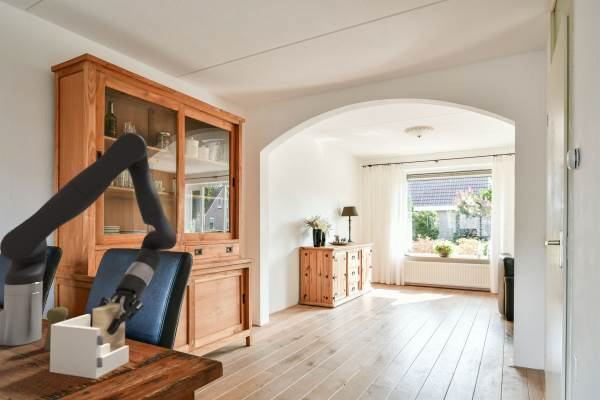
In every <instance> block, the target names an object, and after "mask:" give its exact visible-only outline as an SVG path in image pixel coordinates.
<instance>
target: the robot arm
mask: <svg viewBox="0 0 600 400" xmlns="http://www.w3.org/2000/svg"><path fill="white" fill-rule="evenodd" d="M126 170H128V172H129V176H130V178H131V181H132V186H133V190H134V195H135V199H136V204H137V207H138V210H139V213H140V216H141V218H142V222H143V224H145V225H147V226H152V227H153V228H154V230H151V231H149V232H148V233H146V235H145V236H144V237H143V238H142V239H143V240H142V243H141V246H140V249H139V253H138V254H137V256H136V257H135V259H134V261H133V262H132V263H131V265H130V266H129V267H128V268H127V270H126V271H125V273H124V274H123V276H122V278H121V279H120V281H119V282H118V283H117V285H116V286H115V287H116V288H115V292H114V293H113V294H112V295H111V296H110V297H109V298H106V297H105V296H103V297H101V299H100V302H99V305H98V307H101V306H105V305H108V304H114V303H119V304H121V305H120V307H119V309H118V313H117V315H116V319H114V320H113V322H112V323H111V325H110V327H109V328H108V330H107V332H108V333H109V334H110V335H114V333H115V332H116V331H117V329H118V328H119V326H120V325H121V323H123V322H124V321H125V322H128V323H129V322H130V321H131V320H132V319H133V318H135V316H136V315H137V314H138V313H139V312H140V311H141V310H142V308H143V307H144V304H143V302H142V301H141V300H140V299H141V298H142V295H143V294H144V292H145V290H147V287H148V286H149V284H150V282H151V280H152V278H153V275H154V274H155V271H156V270H157V268H158V267H159V265H160V263H161V255H160V254H159V253H158V252H159V251H166V250H171V249H174V247H175V246H176V244H177V241H178V240H177V239H178V236H177V233H176V231H175V229H174V227H173V225H172V224H171V222H170V220H169V219H168V217H167V216H166V215H165V214H166V213H165V212H164V208H163V205H162V202H161V198H160V196H159V193H158V190H157V187H156V185H155V183H154V179H153V176H152V172H151V169H150V164H149V157H148V144H147V142H146V140H145V139H144V138H143V137H142V136H141V135H140V134H138V133H136V132H135V133H134V132H126V133H123V134H121V135H120V136H118V137H117V138H116V139H115V141H114V142H113V143H112V144H111V145H110V146H109V148H108V149H107V150H105V152H104V153H103V154H102V155H101V156H100V157H98V159H97V160H95V161H94V162H93V163H91V164H90V165H88V166H87V167H86V168H84V169H82V171H80V172H79V173H77V175H75V176H74V177H73V178H71V179H70V180H69V181H68V182H66V184H65V185H63V186H62V187H61V188H60V189H59V190H58V191H57V192H56V193H54V195H53V196H51V197H50V199H48V200H47V201H46V202H45V203H43V205H42V206H41V207H40V208H39V209H38V210H37V211H36V212H35V213H33V214H32V215H31V216H29V217H28V218H27V219H25V220H24V221H22V222H21V223H20V224H18V225H17V226H15V227H14V228H13V229H11V230H9V231H8V232H7V233H6V234H5V235H4V236H3V238H2V240H1V242H0V254H1V255H2V256H3V257H4V258H5V259H7V260H9V261H11V265H10V268H9V270H8V271H7V273H5V276H4V291H3V292H4V295H3V310H1V311H0V346H8V347H9V346H10V347H12V346H13V347H15V346H23V345H28V344H31V343H34V342H38V341H40V340H41V339H42V333H43V330H42V327H43V325H42V323H43V293H44V291H43V290H44V289H43V288H44V286H43V284H44V283H43V282H44V281H43V280H44V279H43V278H44V274H45V270H46V267H47V254H48V241H47V238H48V237H49V236H50V235H51V234H52V233H54V232H55V231H56V230H58V229H59V228H60V227H62V226H64V225H66V224H67V223H69V222H70V221H71V220H73V219H75V218H77V217H78V216H80V215H81V214H83V213H84V212H85V211H86V210H87V209H88V208H90V207H91V206H92V205H93V204H94V203H95V202H96V201H98V199H99V198H100V197H101V196H103V194H104V193H105V191H107V189H108V188H109V186H111V184H112V183H113V182H114V181H115V180H116V178H117V177H118V176H119V175H121V174H122V173H124V171H126Z"/></svg>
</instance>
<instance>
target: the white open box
mask: <svg viewBox="0 0 600 400" xmlns="http://www.w3.org/2000/svg"><path fill="white" fill-rule="evenodd" d="M100 345H102V346H100ZM129 356H130V346H129V345H125V346H123V347H121V348H118V349H116V350H114V351H112V352H110V344H109V343H107V344H104V345H103V335H101V328H94V327H92V326H91V314H90V313H86V314H84V315H79V316H77V317H76V316H75V317H73V318H69V319H66V321H62V322H59V323H56V324H52V325H51V344H50V351H49V372H50V373H55V374H61V375H69V376H73V377H74V376H75V377H81V378H88V379H94V380H95V379H98V378H100V377H102V376H105V375H106V374H108V373H110V372H112V371H114V370H116V369H118V368H120V367H122V366H124V365H125V364H127V363H129V362H130V359H129V358H130V357H129Z"/></svg>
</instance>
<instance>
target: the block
mask: <svg viewBox="0 0 600 400" xmlns="http://www.w3.org/2000/svg"><path fill="white" fill-rule="evenodd" d="M120 305H121V304H119V303H114V304H108V305H105V306H101V307H99V306H98V307H95V308H92V326H91V327H94V328H101V335H103V345H104V344H107V343H109V344H110V352H112V351H115V350H117V349H119V348H121V347H123V346H126V345H125V343H126V342H125V340H126V321H124V322H123V323H121V325H120V326H119V328H118V329H117V331H116V332H115V333H114V335H110V334H109V333H108V332H107V330H108V328H109V327H110V325H111V323H112V322H113V320H114V319H116V315H117V313H118V309H119V307H120ZM100 346H102V345H100Z"/></svg>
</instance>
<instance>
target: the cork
mask: <svg viewBox="0 0 600 400" xmlns="http://www.w3.org/2000/svg"><path fill="white" fill-rule="evenodd" d="M68 315H69V309H68V308H67V307H64V306H56V307H52V308H50V309H48V310H47V312H46V319H47V320H48V325H47V330H46V336H45V341H44V348H43V350H44V351H46V352H47V351H48V352H50V344H51V325H52V324H56V323H59V322H62V321H66V320H67V317H68Z"/></svg>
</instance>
